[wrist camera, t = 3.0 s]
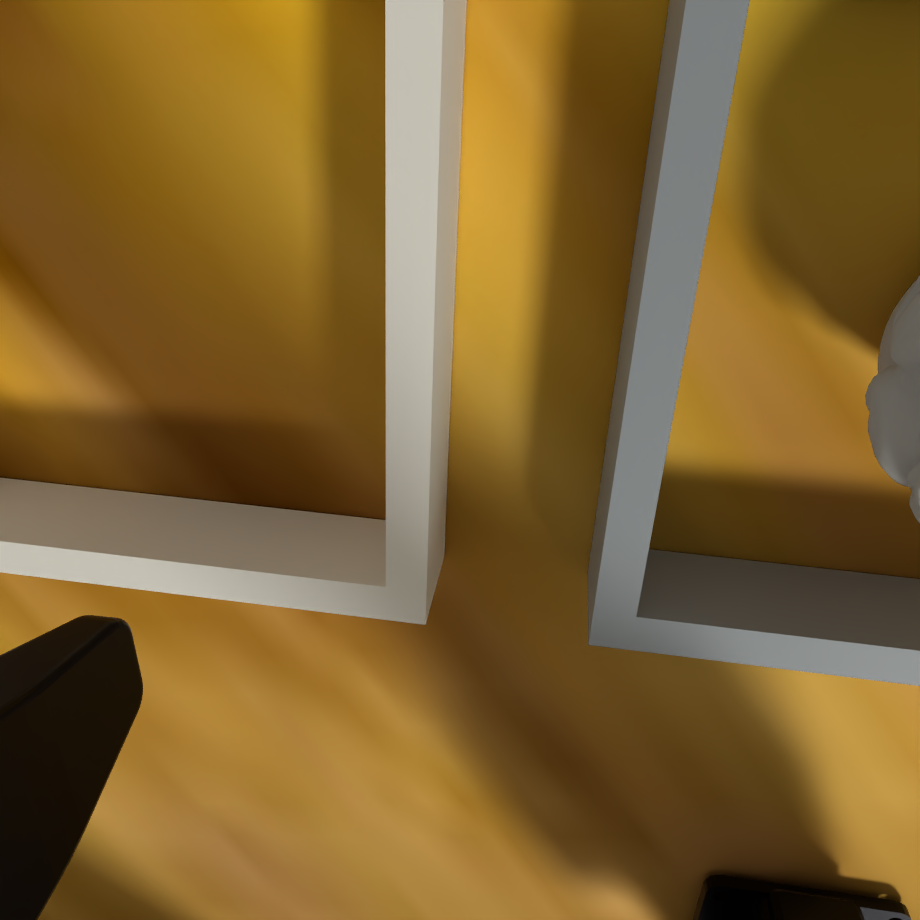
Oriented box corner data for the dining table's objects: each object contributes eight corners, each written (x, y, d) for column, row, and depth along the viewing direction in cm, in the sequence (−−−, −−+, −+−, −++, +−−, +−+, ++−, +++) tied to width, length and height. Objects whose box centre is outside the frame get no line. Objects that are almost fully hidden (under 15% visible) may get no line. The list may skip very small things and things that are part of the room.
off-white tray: (444, 556, 22) (425, 624, 19) (-49, 500, 23) (-129, 556, 21) (470, -89, 15) (446, -122, 12) (-229, -109, 17) (-383, -142, 14)
